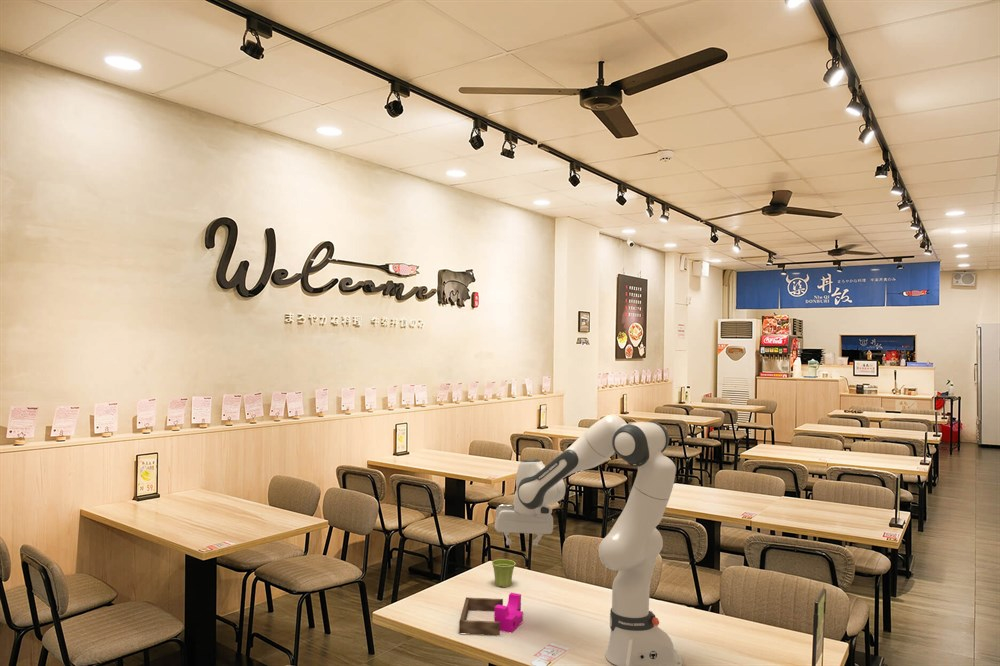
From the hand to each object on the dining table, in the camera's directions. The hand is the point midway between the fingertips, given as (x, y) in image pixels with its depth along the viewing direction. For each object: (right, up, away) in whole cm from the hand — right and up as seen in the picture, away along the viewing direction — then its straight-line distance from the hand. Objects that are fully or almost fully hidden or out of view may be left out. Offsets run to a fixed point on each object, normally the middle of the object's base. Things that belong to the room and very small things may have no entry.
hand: (521, 545), depth 229 cm
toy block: (-4, -26, -3) cm, 26 cm away
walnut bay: (-14, -25, -3) cm, 29 cm away
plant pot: (-6, -27, +34) cm, 44 cm away
